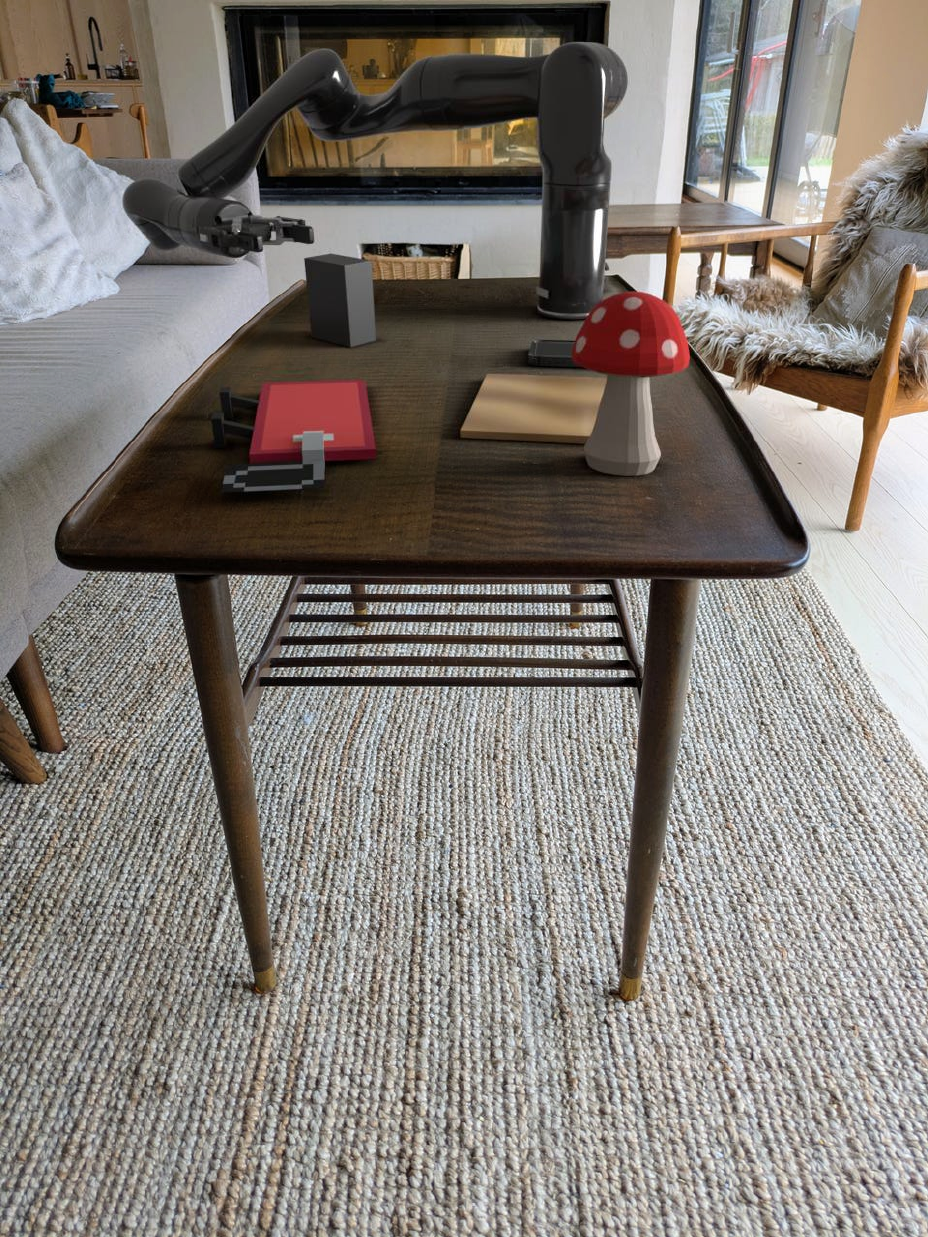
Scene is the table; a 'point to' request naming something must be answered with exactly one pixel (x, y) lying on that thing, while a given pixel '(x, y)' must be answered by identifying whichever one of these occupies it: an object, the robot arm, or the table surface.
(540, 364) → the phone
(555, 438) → the wooden board
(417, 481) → the table surface
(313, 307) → the tall charcoal box
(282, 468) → the red board with handle
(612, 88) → the robot arm
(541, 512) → the table surface
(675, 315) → the decorative mushroom
